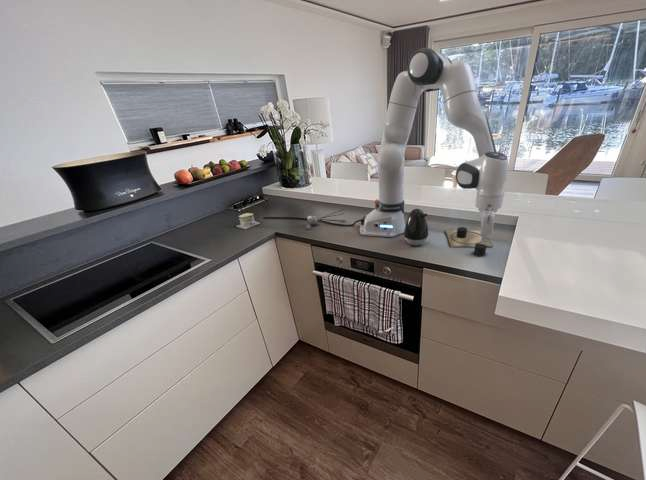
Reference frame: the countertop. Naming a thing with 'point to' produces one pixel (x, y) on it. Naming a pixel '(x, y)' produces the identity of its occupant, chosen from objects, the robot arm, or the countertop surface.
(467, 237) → the sketch board
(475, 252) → the dot right
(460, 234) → the black ribbed knob
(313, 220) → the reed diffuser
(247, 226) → the stacked layers on plate
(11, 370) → the countertop surface
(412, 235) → the pump dispenser
